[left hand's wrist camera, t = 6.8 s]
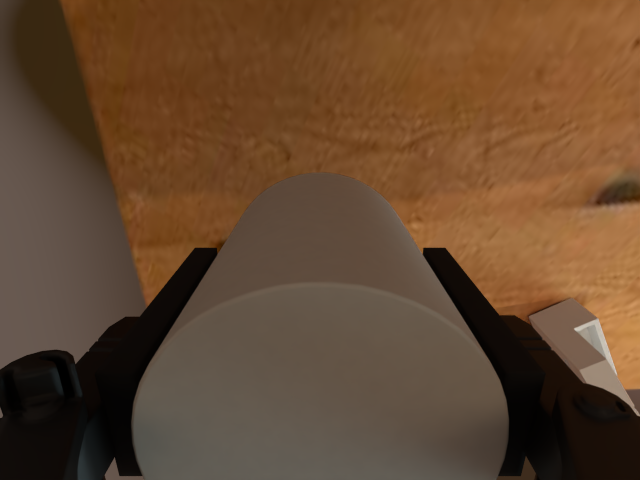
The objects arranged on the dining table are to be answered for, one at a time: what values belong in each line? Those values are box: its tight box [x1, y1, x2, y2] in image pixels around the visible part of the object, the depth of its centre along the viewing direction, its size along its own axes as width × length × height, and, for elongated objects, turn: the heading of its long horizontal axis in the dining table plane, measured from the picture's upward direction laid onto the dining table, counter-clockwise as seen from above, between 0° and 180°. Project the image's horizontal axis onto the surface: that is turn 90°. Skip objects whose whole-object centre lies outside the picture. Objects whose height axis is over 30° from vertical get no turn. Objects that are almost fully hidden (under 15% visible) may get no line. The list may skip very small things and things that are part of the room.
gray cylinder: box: [131, 173, 509, 480], centre depth 12 cm, size 7×7×9 cm
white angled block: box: [528, 298, 640, 416], centre depth 30 cm, size 4×10×9 cm, turn 28°
